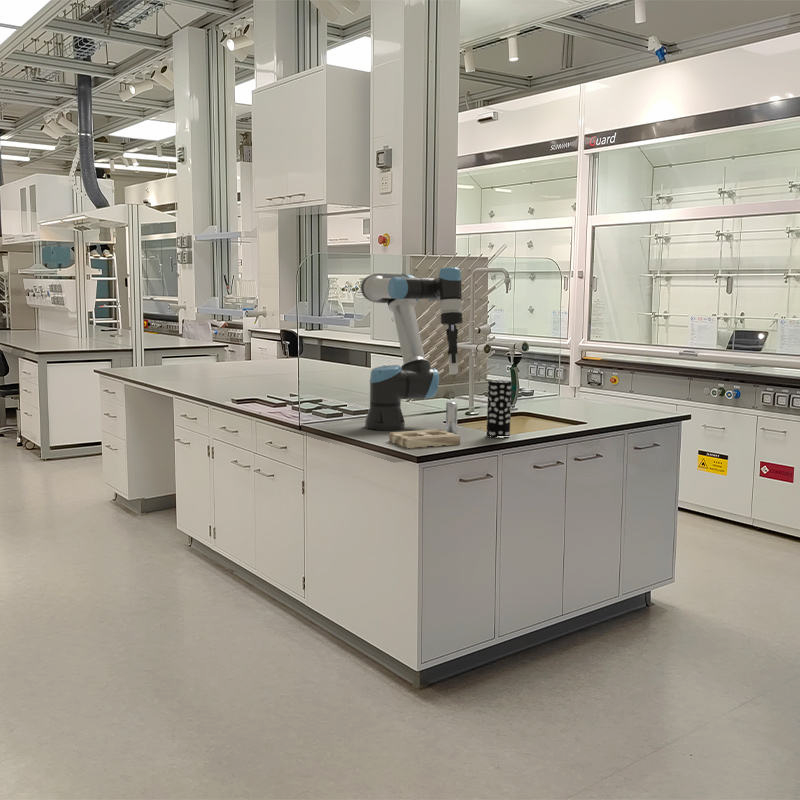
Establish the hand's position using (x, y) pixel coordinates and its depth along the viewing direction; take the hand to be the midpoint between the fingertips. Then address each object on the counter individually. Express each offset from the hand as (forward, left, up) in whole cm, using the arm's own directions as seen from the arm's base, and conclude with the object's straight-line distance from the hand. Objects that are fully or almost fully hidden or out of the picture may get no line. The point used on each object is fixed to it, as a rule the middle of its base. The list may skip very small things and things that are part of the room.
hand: (453, 373), depth 275 cm
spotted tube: (0, +20, -24) cm, 31 cm away
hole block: (+1, -11, -23) cm, 26 cm away
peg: (-8, +5, -23) cm, 25 cm away
